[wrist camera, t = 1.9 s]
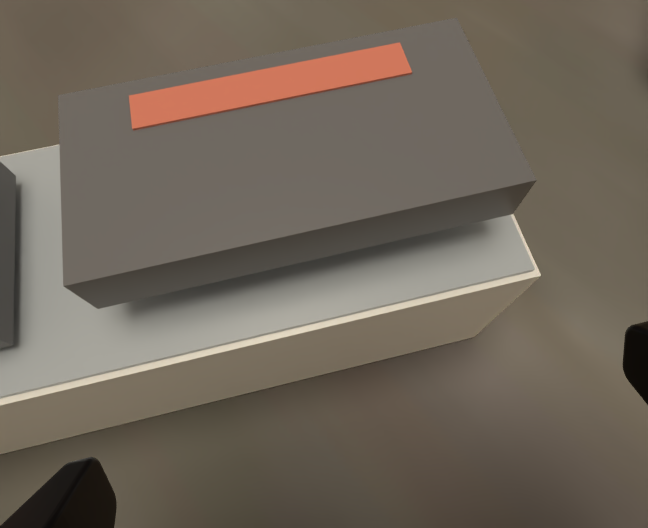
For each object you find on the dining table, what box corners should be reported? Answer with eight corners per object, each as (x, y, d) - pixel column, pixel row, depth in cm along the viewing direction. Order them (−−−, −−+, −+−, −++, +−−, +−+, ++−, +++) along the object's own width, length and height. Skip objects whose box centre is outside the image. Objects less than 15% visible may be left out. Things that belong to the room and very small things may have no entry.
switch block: (474, 337, 22) (543, 273, 15) (-179, 498, 20) (-476, 517, 13) (414, 178, 26) (447, 62, 18) (-148, 301, 24) (-367, 226, 16)
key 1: (512, 214, 14) (537, 178, 12) (97, 309, 13) (61, 285, 11) (444, 63, 16) (457, 15, 14) (87, 135, 15) (56, 93, 14)
